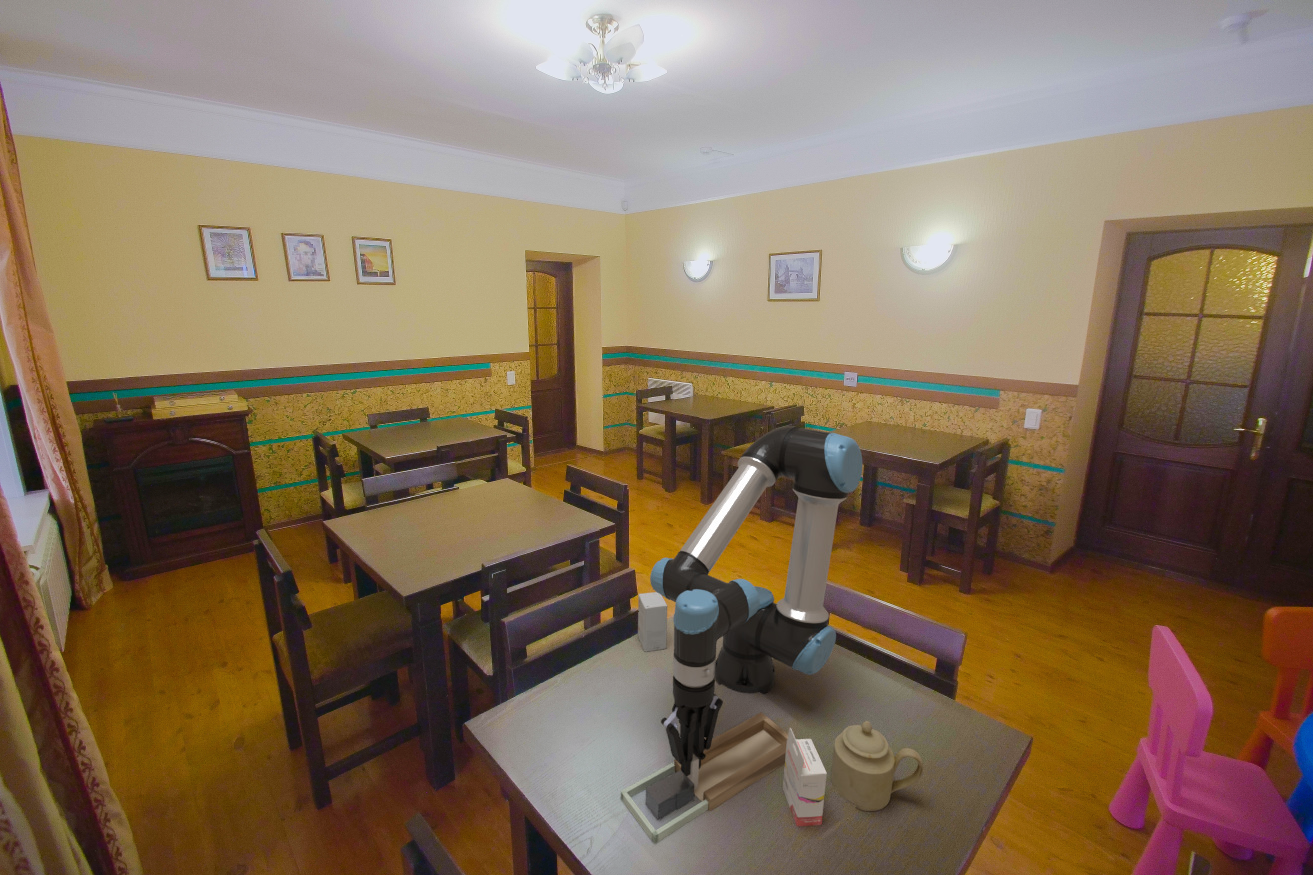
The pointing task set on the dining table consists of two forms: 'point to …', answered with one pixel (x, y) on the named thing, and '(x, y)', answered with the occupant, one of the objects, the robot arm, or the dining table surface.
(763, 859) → the dining table surface
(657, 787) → the chip
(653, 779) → the tray
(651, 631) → the small box
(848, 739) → the sugar bowl
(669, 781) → the chip
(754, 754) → the slot board
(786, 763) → the ink cartridge box
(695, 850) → the dining table surface
